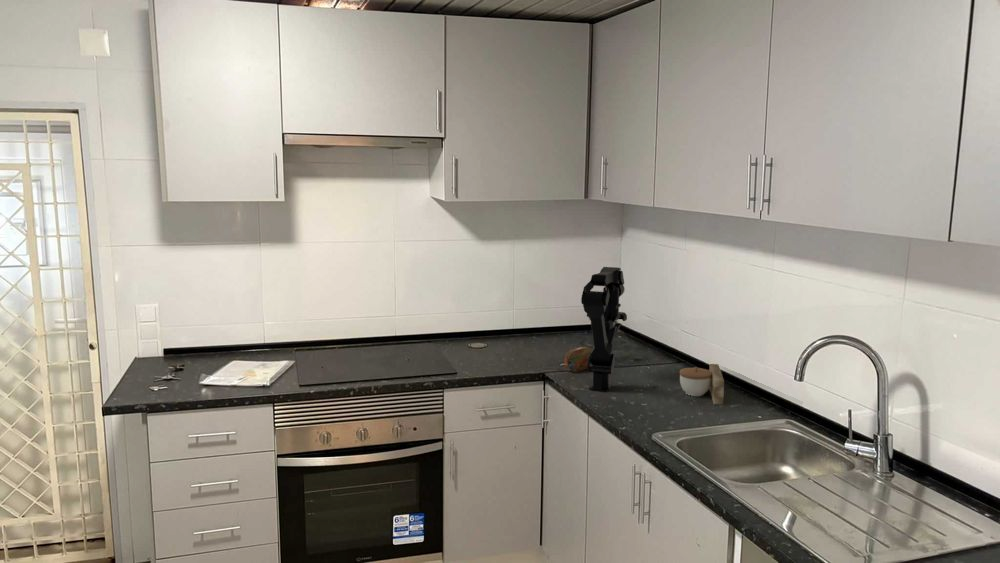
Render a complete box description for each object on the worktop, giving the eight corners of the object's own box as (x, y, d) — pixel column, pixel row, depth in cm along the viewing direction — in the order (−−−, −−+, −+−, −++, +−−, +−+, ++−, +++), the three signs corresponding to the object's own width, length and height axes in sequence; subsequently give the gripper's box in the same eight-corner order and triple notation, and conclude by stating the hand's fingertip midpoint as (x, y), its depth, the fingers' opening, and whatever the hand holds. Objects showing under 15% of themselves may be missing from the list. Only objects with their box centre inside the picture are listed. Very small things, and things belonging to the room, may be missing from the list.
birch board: (713, 403, 244) (714, 380, 243) (708, 385, 264) (709, 363, 262) (723, 404, 244) (724, 380, 242) (717, 386, 263) (718, 364, 262)
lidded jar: (716, 397, 250) (717, 370, 249) (685, 399, 249) (686, 372, 247) (703, 388, 261) (704, 362, 259) (674, 389, 260) (675, 363, 258)
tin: (568, 373, 279) (568, 352, 278) (562, 372, 282) (562, 350, 280) (596, 366, 289) (596, 345, 287) (590, 365, 291) (590, 344, 290)
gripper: (599, 295, 281) (598, 335, 284) (580, 303, 265) (579, 346, 268) (627, 297, 276) (626, 338, 279) (609, 306, 260) (608, 350, 262)
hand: (610, 343), depth 272 cm, fingers closed
